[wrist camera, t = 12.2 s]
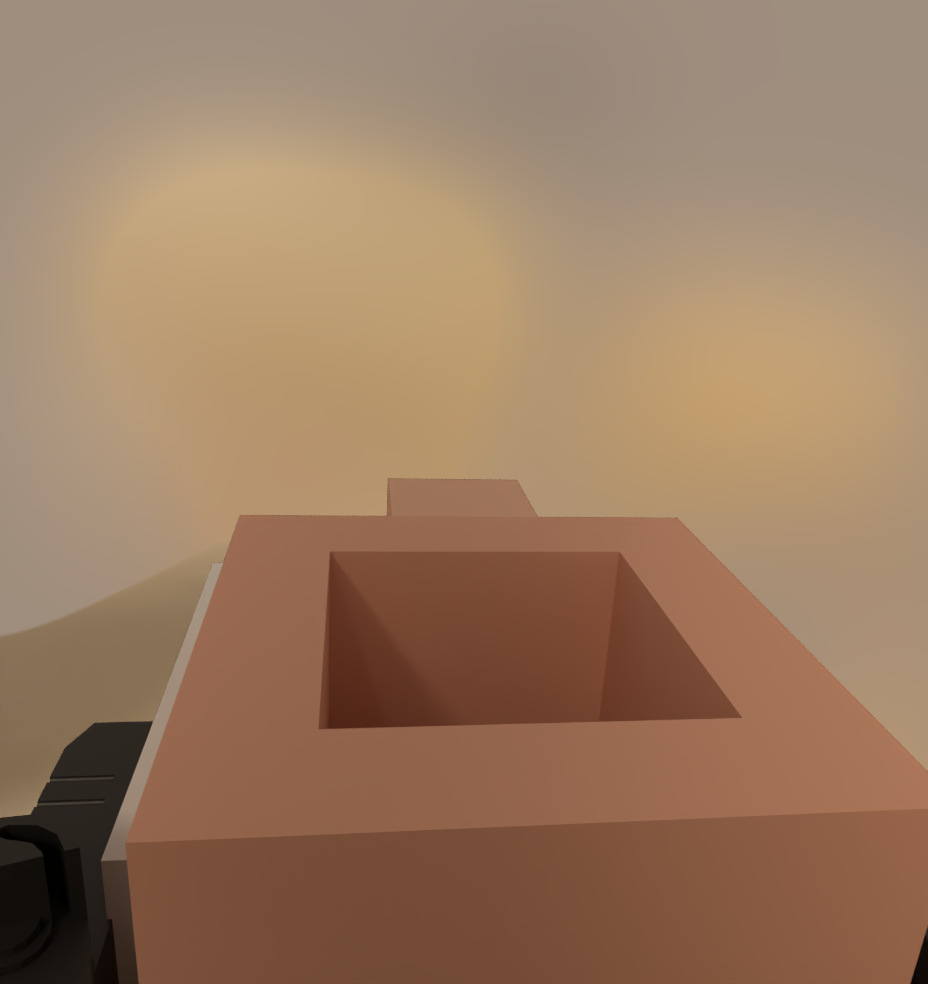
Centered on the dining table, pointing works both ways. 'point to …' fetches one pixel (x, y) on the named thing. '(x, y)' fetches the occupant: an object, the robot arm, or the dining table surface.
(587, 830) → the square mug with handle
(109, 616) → the dining table surface
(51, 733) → the dining table surface
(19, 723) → the dining table surface
